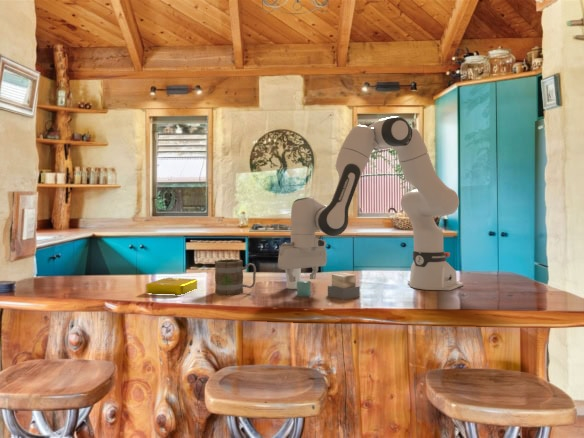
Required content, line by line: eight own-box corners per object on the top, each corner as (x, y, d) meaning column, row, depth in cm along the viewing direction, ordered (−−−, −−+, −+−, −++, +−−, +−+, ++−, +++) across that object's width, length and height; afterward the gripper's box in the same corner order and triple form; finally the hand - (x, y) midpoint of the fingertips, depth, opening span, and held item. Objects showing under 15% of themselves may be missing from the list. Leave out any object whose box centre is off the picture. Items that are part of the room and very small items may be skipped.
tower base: (343, 293, 151) (343, 283, 151) (359, 297, 145) (359, 286, 145) (327, 296, 147) (327, 285, 146) (343, 300, 140) (343, 289, 140)
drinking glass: (304, 289, 159) (303, 251, 159) (287, 290, 157) (287, 251, 157) (298, 286, 165) (298, 249, 165) (282, 287, 163) (282, 250, 163)
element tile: (143, 296, 151) (143, 283, 151) (165, 288, 166) (164, 276, 165) (180, 297, 148) (180, 284, 147) (199, 289, 162) (199, 277, 162)
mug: (211, 295, 149) (211, 263, 148) (217, 289, 159) (217, 259, 159) (254, 295, 148) (254, 262, 148) (258, 289, 159) (257, 259, 159)
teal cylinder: (304, 293, 151) (304, 280, 151) (313, 295, 147) (313, 281, 147) (294, 295, 148) (294, 281, 148) (302, 297, 144) (302, 283, 144)
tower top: (344, 283, 150) (344, 272, 150) (355, 286, 145) (355, 274, 145) (331, 285, 147) (331, 274, 147) (343, 288, 142) (343, 276, 142)
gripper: (284, 243, 138) (284, 284, 139) (329, 241, 151) (329, 278, 151) (274, 242, 143) (274, 281, 144) (318, 240, 156) (318, 276, 156)
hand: (302, 280), depth 147 cm, fingers open, 8 cm apart
